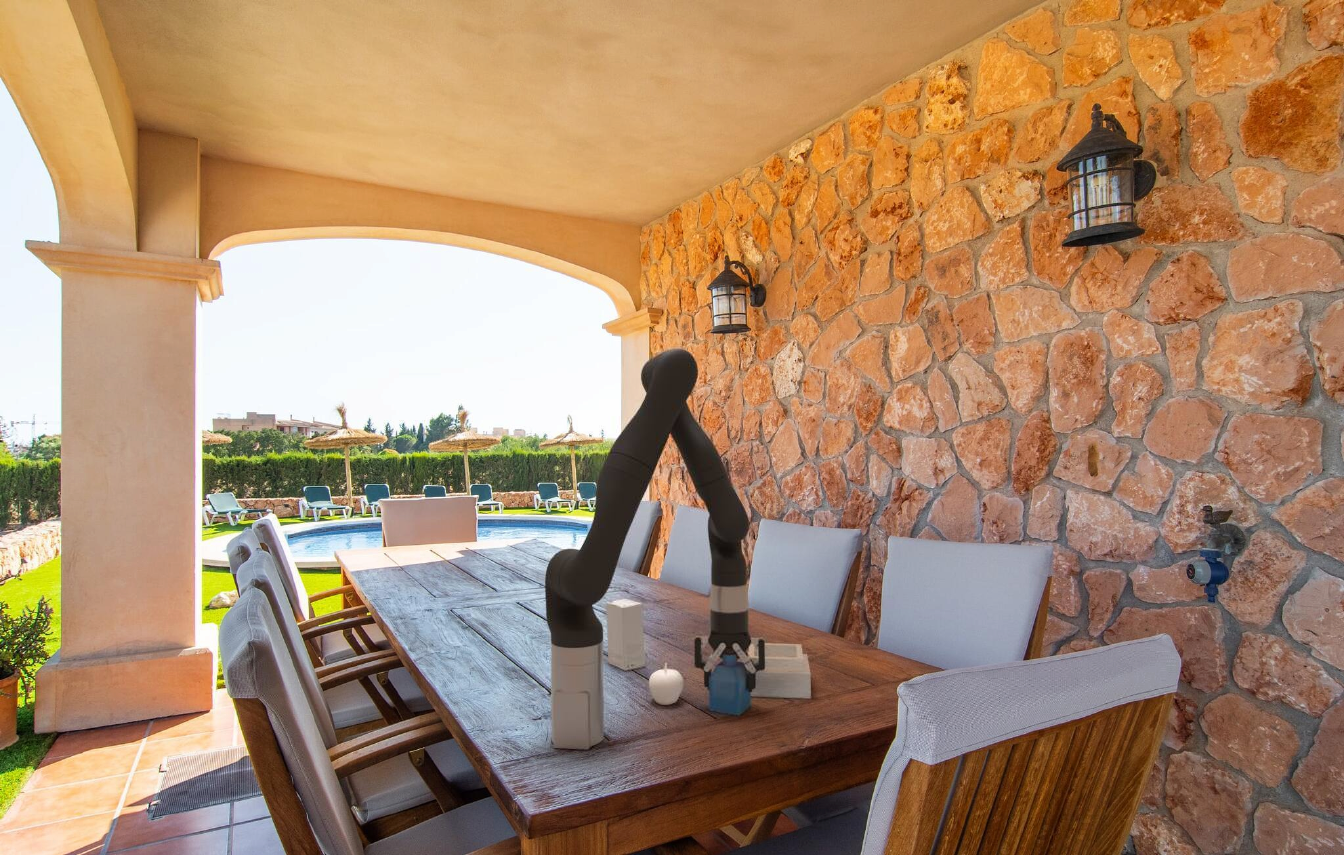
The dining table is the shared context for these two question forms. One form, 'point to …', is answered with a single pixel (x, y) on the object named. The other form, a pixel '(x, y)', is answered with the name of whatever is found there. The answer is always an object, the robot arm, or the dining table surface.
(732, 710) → the perfume bottle
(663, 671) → the plain white apple
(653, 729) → the dining table surface
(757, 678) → the white square stand
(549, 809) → the dining table surface
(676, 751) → the dining table surface
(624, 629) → the skincare box
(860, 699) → the dining table surface
